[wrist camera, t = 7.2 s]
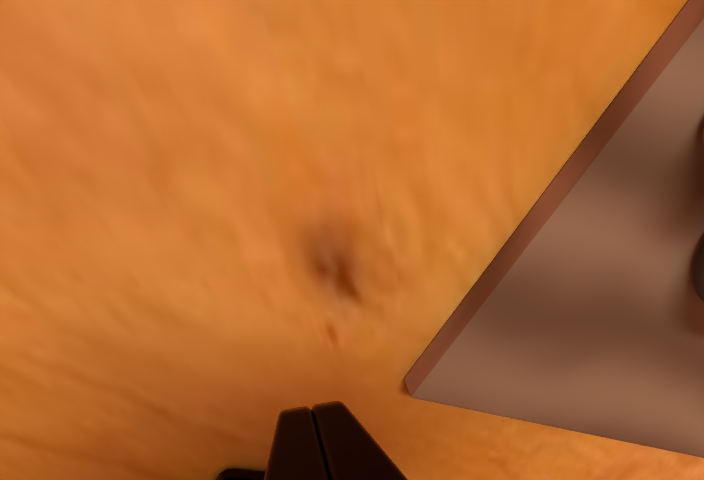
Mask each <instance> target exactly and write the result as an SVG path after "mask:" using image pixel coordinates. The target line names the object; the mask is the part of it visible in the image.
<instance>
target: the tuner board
mask: <svg viewBox="0 0 704 480" xmlns="http://www.w3.org/2000/svg"><path fill="white" fill-rule="evenodd" d="M703 128H704V0H689V1H688V2H687V3H686V5H685V6H684V7H683V9H682V10H681V11H680V13H679V14H678V15H677V17H676V18H675V19H674V21H673V22H672V23H671V25H670V26H669V27H668V29H667V30H666V31H665V32H664V34H663V35H662V36H661V38H660V39H659V40H658V42H657V43H656V44H655V46H654V47H653V48H652V50H651V51H650V52H649V54H648V55H647V56H646V58H645V59H644V60H643V62H642V63H641V64H640V66H639V67H638V68H637V70H636V71H635V72H634V74H633V75H632V76H631V78H630V79H629V80H628V82H627V83H626V84H625V86H624V87H623V88H622V90H621V91H620V92H619V94H618V95H617V96H616V98H615V99H614V100H613V102H612V103H611V104H610V106H609V107H608V108H607V110H606V111H605V112H604V114H603V115H602V116H601V118H600V119H599V120H598V122H597V123H596V124H595V126H594V127H593V128H592V130H591V131H590V132H589V133H588V135H587V136H586V137H585V139H584V140H583V141H582V143H581V144H580V145H579V147H578V148H577V149H576V151H575V152H574V153H573V155H572V156H571V157H570V159H569V160H568V161H567V163H566V164H565V165H564V167H563V168H562V169H561V171H560V172H559V173H558V175H557V176H556V177H555V179H554V180H553V181H552V183H551V184H550V185H549V187H548V188H547V189H546V191H545V192H544V193H543V195H542V196H541V197H540V199H539V200H538V201H537V203H536V204H535V205H534V207H533V208H532V209H531V211H530V212H529V213H528V215H527V216H526V217H525V219H524V220H523V221H522V223H521V224H520V225H519V227H518V228H517V229H516V230H515V232H514V233H513V234H512V236H511V237H510V238H509V240H508V241H507V242H506V244H505V245H504V246H503V248H502V249H501V250H500V252H499V253H498V254H497V256H496V257H495V258H494V260H493V261H492V262H491V264H490V265H489V266H488V268H487V269H486V270H485V272H484V273H483V274H482V276H481V277H480V278H479V280H478V281H477V282H476V284H475V285H474V286H473V288H472V289H471V290H470V292H469V293H468V294H467V296H466V297H465V298H464V300H463V301H462V302H461V304H460V305H459V306H458V308H457V309H456V310H455V312H454V313H453V314H452V316H451V317H450V318H449V320H448V321H447V322H446V324H445V325H444V326H443V328H442V329H441V330H440V331H439V333H438V334H437V335H436V337H435V338H434V339H433V341H432V342H431V343H430V345H429V346H428V347H427V349H426V350H425V351H424V353H423V354H422V355H421V357H420V358H419V359H418V361H417V362H416V363H415V365H414V366H413V367H412V369H411V370H410V371H409V373H408V374H407V375H406V377H405V378H404V381H405V383H406V386H407V389H408V391H409V394H410V396H411V397H412V398H417V399H422V400H426V401H431V402H436V403H441V404H446V405H451V406H455V407H460V408H465V409H470V410H475V411H480V412H484V413H489V414H494V415H499V416H504V417H509V418H513V419H518V420H523V421H528V422H533V423H538V424H543V425H547V426H552V427H557V428H562V429H567V430H572V431H576V432H581V433H586V434H591V435H596V436H601V437H605V438H610V439H615V440H620V441H625V442H630V443H634V444H639V445H644V446H649V447H654V448H659V449H664V450H668V451H673V452H678V453H683V454H688V455H693V456H697V457H702V458H704V302H703V301H702V300H701V299H700V297H699V296H698V294H697V293H696V290H695V287H694V280H693V278H694V268H695V264H696V260H697V258H698V255H699V252H700V250H701V248H702V246H703V244H704V144H703V139H702V133H703Z"/></svg>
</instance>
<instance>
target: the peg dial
mask: <svg viewBox="0 0 704 480" xmlns="http://www.w3.org/2000/svg"><path fill="white" fill-rule="evenodd" d="M702 139H703V144H704V128H703V133H702ZM693 280H694V287H695V290H696V293H697V294H698V296H699V297H700V299H701V300H702V301H703V302H704V244H703V246H702V248H701V250H700V252H699V255H698V258H697V260H696V264H695V268H694V278H693Z"/></svg>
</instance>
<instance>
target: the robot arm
mask: <svg viewBox="0 0 704 480" xmlns="http://www.w3.org/2000/svg"><path fill="white" fill-rule="evenodd" d="M216 480H407V478H406V477H405V476H404V475H403V474H402V472H401V471H400V470H399V469H398V468H397V467H396V465H395V464H394V463H393V462H392V461H391V459H390V458H389V457H388V456H387V455H386V453H385V452H384V451H383V450H382V449H381V447H380V446H379V445H378V444H377V443H376V441H375V440H374V439H373V438H372V437H371V436H370V434H369V433H368V432H367V431H366V430H365V428H364V427H363V426H362V425H361V424H360V422H359V421H358V420H357V419H356V418H355V416H354V415H353V414H352V413H351V412H350V410H349V409H348V408H347V407H346V406H345V405H344V404H343V403H342V402H339V401H334V402H328V403H322V404H316V405H314V406H313V407H312V409H310V408H309V407H305V406H304V407H298V408H292V409H286V410H283V411H281V413H280V414H279V417H278V421H277V425H276V430H275V434H274V438H273V442H272V447H271V451H270V455H269V460H268V464H267V468H266V473H263V472H255V471H247V470H239V469H228V470H225V471H223V472H221V473H220V474H219V476H218V477H217V479H216Z"/></svg>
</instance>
